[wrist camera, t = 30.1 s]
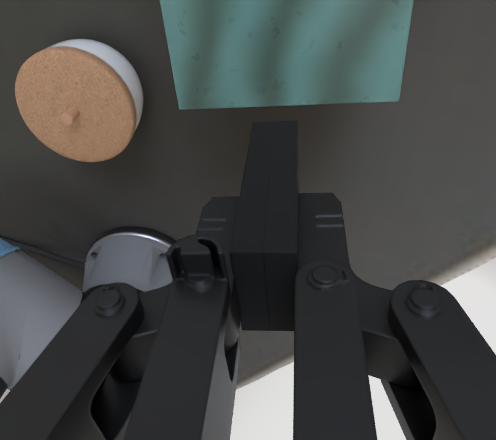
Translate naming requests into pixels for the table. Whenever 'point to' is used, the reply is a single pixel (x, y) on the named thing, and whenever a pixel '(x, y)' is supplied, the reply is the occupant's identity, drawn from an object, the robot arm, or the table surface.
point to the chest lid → (286, 51)
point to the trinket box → (80, 99)
